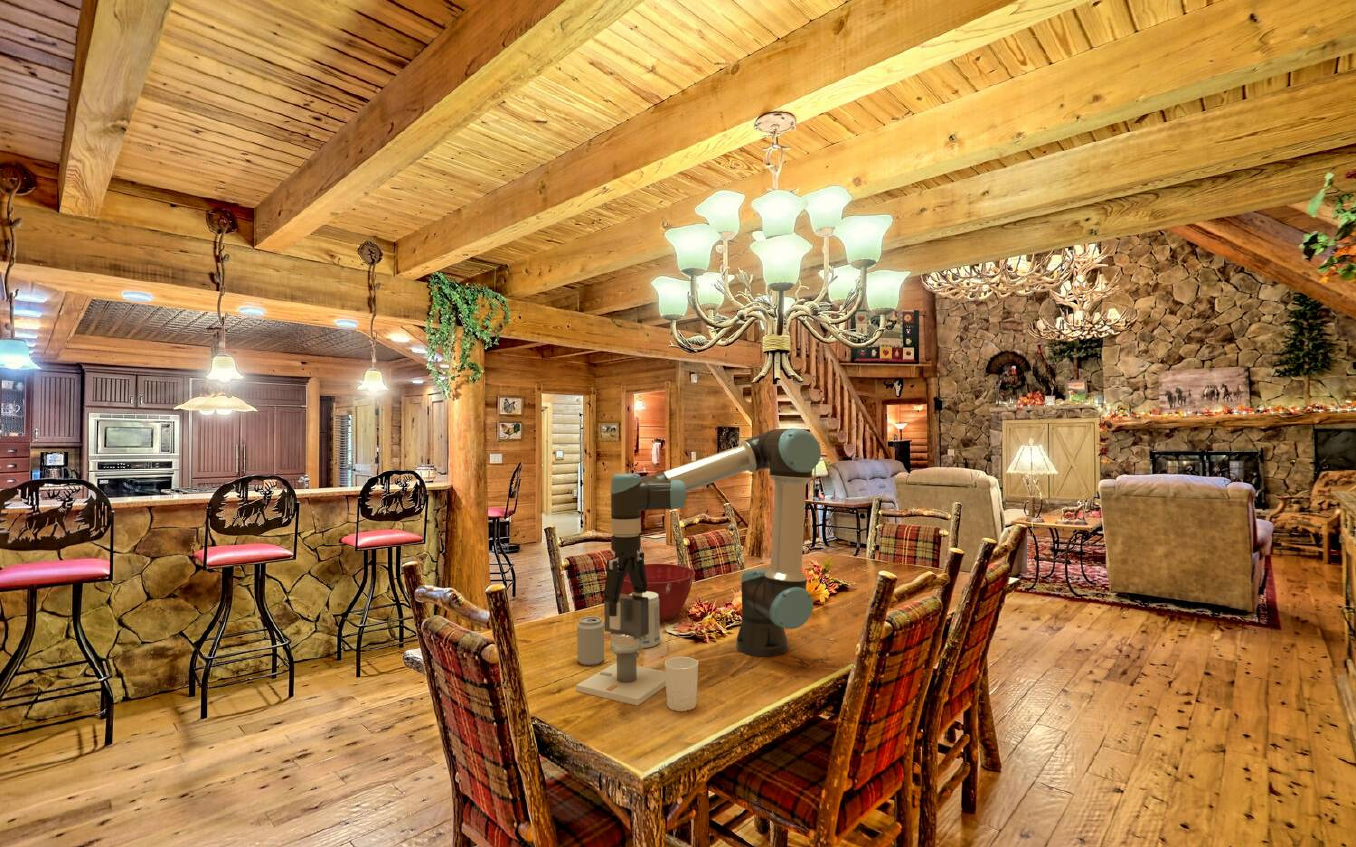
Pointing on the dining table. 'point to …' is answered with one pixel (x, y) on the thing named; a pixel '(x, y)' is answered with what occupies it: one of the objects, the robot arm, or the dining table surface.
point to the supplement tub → (652, 621)
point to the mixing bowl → (665, 586)
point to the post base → (624, 689)
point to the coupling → (628, 624)
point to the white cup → (681, 683)
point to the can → (590, 640)
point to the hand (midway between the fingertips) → (626, 623)
